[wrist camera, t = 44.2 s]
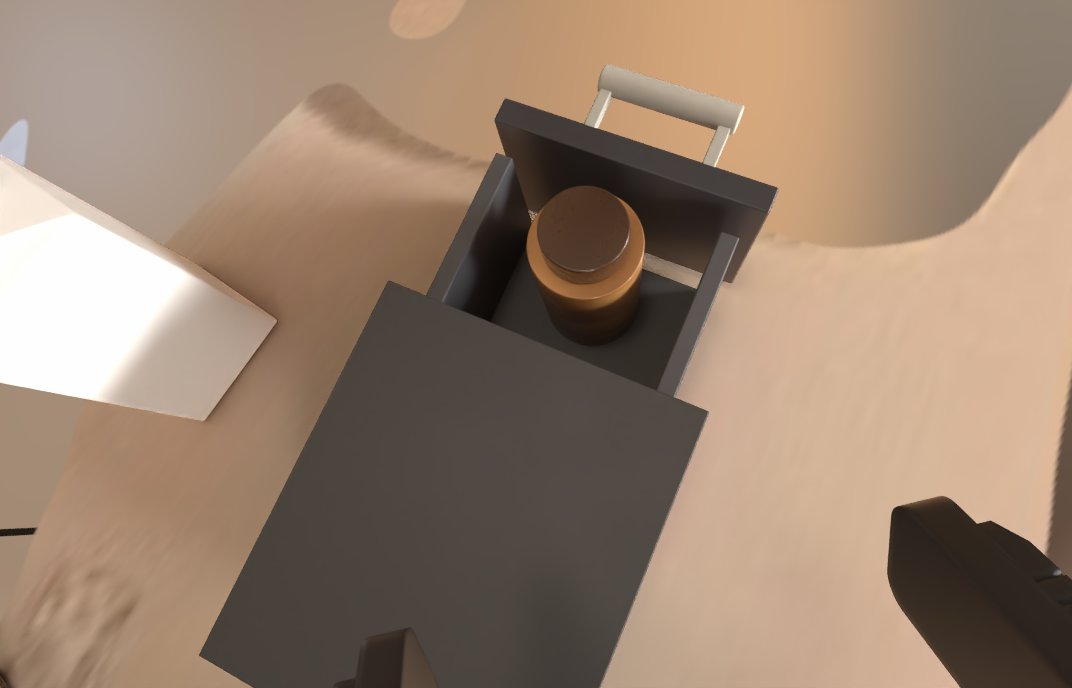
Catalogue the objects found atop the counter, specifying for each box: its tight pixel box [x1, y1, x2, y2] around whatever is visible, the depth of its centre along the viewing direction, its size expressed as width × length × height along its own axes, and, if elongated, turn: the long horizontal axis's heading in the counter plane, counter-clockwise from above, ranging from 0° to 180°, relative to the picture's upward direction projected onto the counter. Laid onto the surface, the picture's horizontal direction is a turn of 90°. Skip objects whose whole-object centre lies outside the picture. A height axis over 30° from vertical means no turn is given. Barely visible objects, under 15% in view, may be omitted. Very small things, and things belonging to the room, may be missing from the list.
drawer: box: [426, 64, 778, 398], centre depth 31 cm, size 20×12×9 cm, turn 156°
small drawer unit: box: [199, 281, 709, 688], centre depth 29 cm, size 16×14×11 cm
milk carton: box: [0, 154, 277, 421], centre depth 29 cm, size 7×7×19 cm
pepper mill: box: [527, 186, 645, 346], centre depth 29 cm, size 5×5×10 cm
